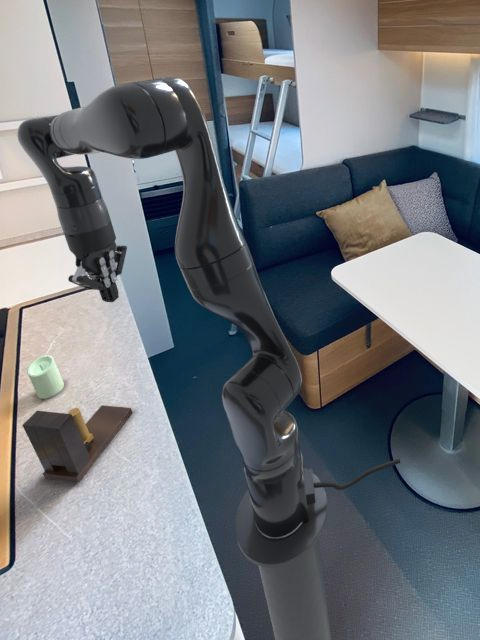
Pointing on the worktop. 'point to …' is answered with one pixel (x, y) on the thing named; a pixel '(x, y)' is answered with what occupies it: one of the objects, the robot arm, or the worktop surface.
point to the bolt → (81, 425)
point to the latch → (72, 440)
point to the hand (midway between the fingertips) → (111, 299)
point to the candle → (45, 377)
